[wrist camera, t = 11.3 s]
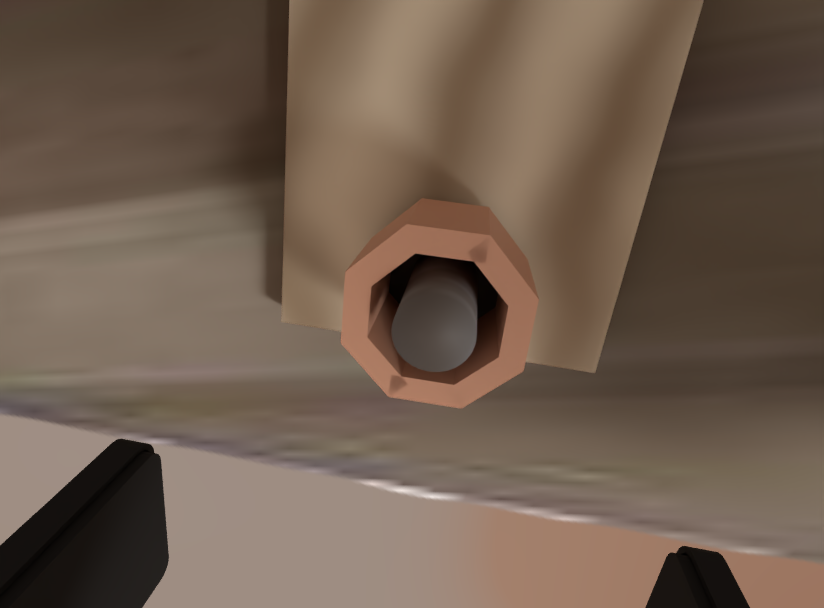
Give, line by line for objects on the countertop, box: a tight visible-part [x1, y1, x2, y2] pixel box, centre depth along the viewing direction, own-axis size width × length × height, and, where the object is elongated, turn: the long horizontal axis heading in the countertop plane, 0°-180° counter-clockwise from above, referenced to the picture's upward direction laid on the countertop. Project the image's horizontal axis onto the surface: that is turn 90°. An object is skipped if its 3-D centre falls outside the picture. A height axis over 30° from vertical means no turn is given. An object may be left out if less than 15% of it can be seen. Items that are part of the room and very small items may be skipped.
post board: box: [281, 0, 704, 373], centre depth 20 cm, size 16×20×8 cm
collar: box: [341, 198, 539, 408], centre depth 21 cm, size 7×7×5 cm
